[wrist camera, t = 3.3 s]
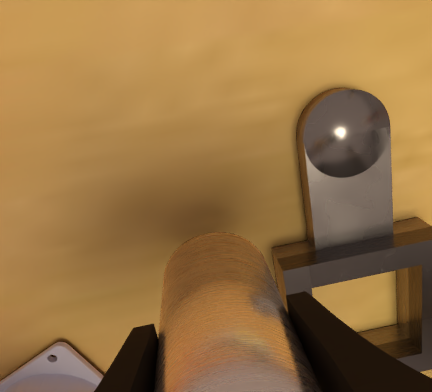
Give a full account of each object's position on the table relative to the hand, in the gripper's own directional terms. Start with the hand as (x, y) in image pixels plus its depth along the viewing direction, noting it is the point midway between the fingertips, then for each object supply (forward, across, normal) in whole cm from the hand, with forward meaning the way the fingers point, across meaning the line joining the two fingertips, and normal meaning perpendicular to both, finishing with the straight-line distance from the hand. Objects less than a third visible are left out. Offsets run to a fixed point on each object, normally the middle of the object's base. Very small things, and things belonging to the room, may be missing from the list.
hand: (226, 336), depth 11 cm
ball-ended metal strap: (+8, -7, +6) cm, 12 cm away
